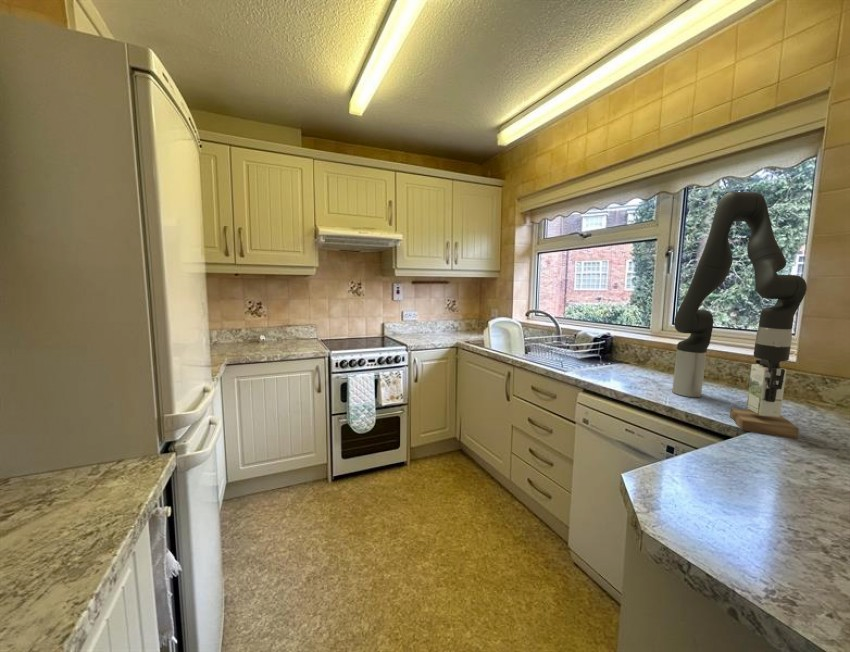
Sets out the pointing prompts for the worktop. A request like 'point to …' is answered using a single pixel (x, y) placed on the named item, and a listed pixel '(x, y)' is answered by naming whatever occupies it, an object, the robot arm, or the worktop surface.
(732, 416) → the walnut plinth
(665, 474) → the worktop surface
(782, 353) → the robot arm
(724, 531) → the worktop surface
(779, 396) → the syrup box
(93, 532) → the worktop surface
